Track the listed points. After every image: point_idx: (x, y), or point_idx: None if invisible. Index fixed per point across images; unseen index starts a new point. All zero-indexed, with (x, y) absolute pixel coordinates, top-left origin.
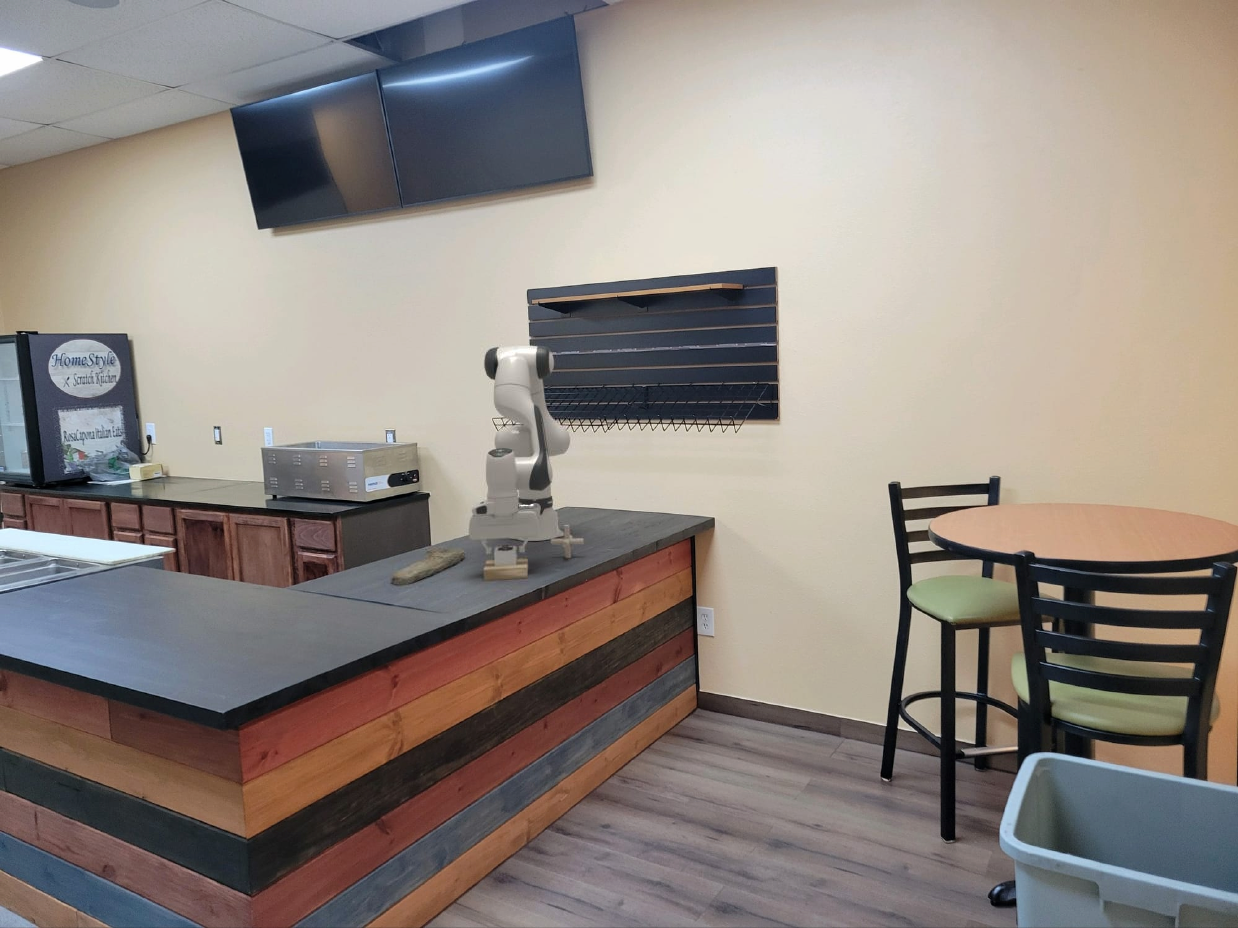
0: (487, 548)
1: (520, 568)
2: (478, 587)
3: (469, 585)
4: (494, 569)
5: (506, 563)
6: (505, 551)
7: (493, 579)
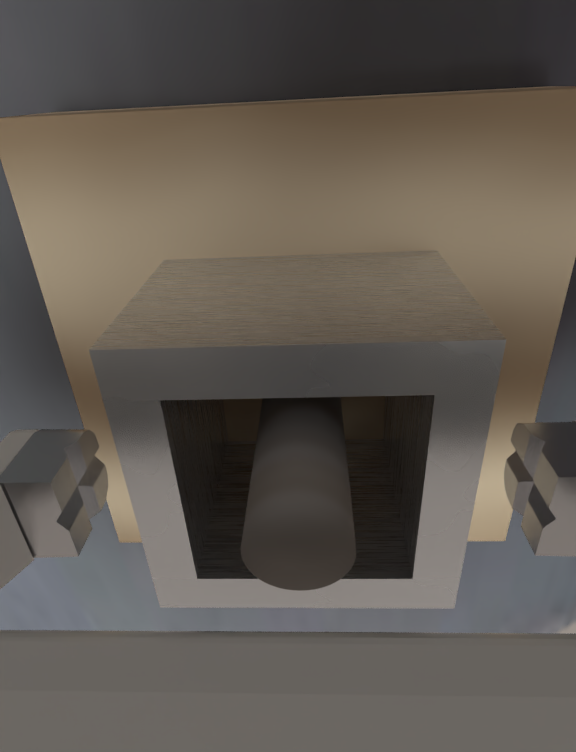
0: (22, 560)
1: None
2: (156, 602)
3: (82, 562)
4: None
5: None
6: (312, 601)
7: None
